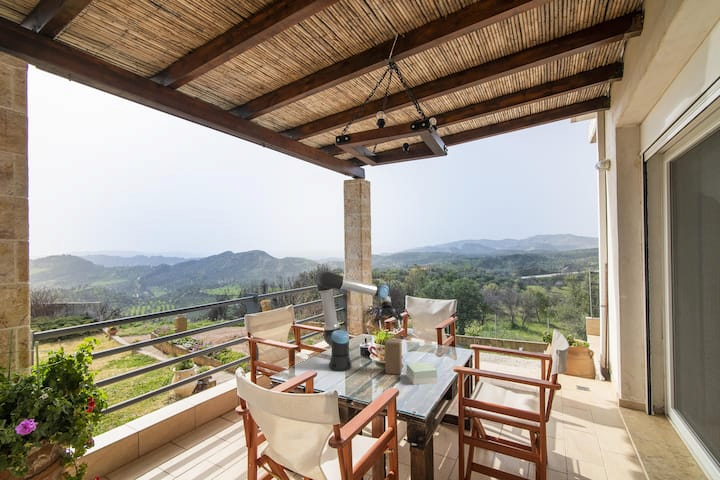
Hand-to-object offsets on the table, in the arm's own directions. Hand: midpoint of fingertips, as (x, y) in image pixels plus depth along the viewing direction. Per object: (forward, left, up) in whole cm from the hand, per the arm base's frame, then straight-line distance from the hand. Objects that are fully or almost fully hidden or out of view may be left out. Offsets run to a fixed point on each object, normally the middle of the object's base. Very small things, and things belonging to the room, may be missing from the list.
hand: (390, 329), depth 224 cm
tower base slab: (+11, -30, -24) cm, 40 cm away
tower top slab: (+11, -30, -20) cm, 38 cm away
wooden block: (-2, -15, -24) cm, 28 cm away
